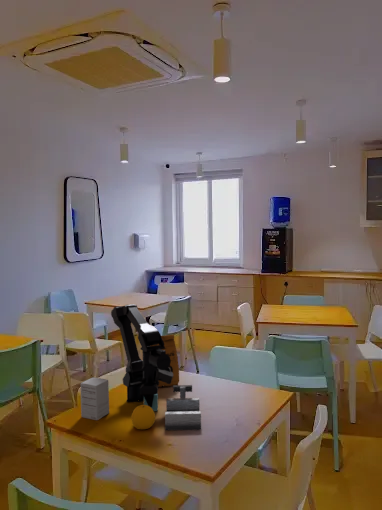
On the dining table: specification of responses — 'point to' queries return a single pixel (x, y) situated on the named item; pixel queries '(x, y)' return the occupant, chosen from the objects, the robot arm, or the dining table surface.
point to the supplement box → (94, 398)
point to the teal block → (155, 402)
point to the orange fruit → (143, 417)
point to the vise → (183, 419)
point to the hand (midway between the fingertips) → (150, 404)
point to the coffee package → (172, 353)
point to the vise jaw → (182, 399)
